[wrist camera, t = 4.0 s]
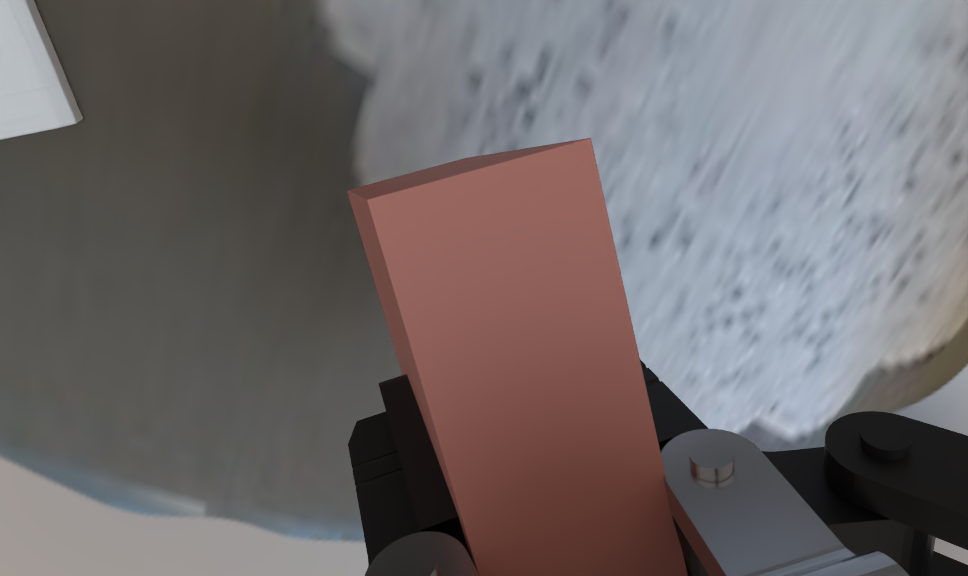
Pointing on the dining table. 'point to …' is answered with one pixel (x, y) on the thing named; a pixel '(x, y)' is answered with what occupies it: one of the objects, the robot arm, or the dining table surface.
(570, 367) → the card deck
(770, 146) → the dining table surface
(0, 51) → the external hard drive
